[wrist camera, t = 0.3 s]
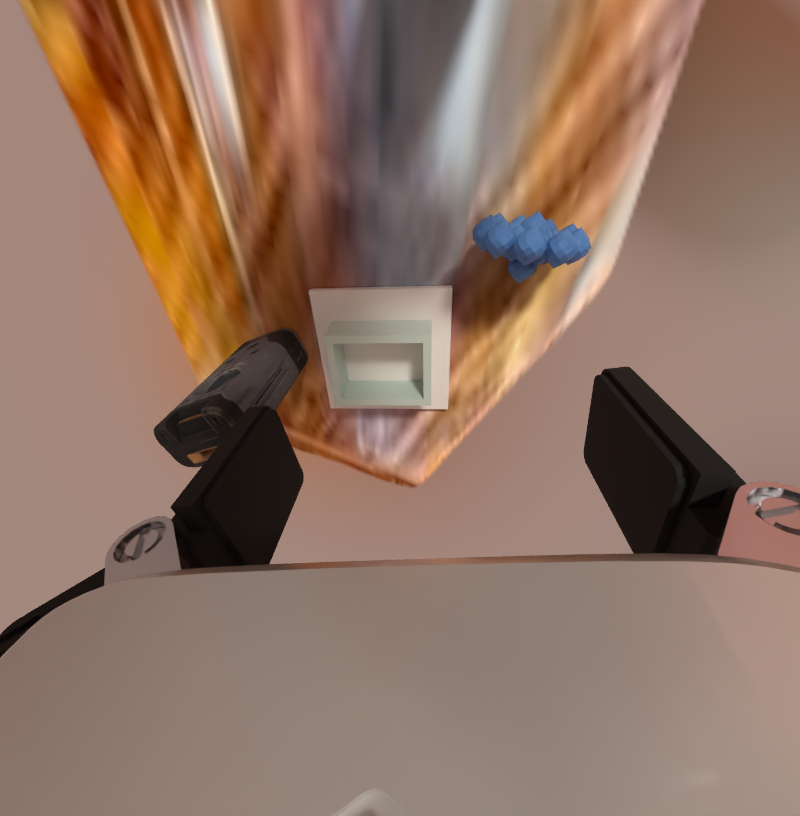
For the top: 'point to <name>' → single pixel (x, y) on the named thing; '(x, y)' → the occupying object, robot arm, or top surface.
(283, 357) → the electronic device
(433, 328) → the dock
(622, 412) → the robot arm
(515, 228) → the grapes
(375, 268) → the top surface
